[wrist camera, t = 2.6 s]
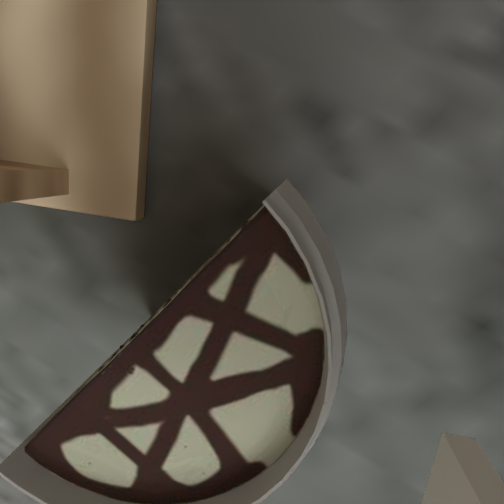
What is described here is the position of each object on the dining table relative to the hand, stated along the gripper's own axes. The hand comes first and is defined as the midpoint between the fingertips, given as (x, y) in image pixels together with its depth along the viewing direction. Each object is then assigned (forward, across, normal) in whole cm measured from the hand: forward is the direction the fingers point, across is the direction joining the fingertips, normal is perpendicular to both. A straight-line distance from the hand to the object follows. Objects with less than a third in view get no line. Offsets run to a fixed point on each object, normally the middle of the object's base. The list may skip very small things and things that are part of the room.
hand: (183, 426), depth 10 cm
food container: (+10, -1, 0) cm, 10 cm away
